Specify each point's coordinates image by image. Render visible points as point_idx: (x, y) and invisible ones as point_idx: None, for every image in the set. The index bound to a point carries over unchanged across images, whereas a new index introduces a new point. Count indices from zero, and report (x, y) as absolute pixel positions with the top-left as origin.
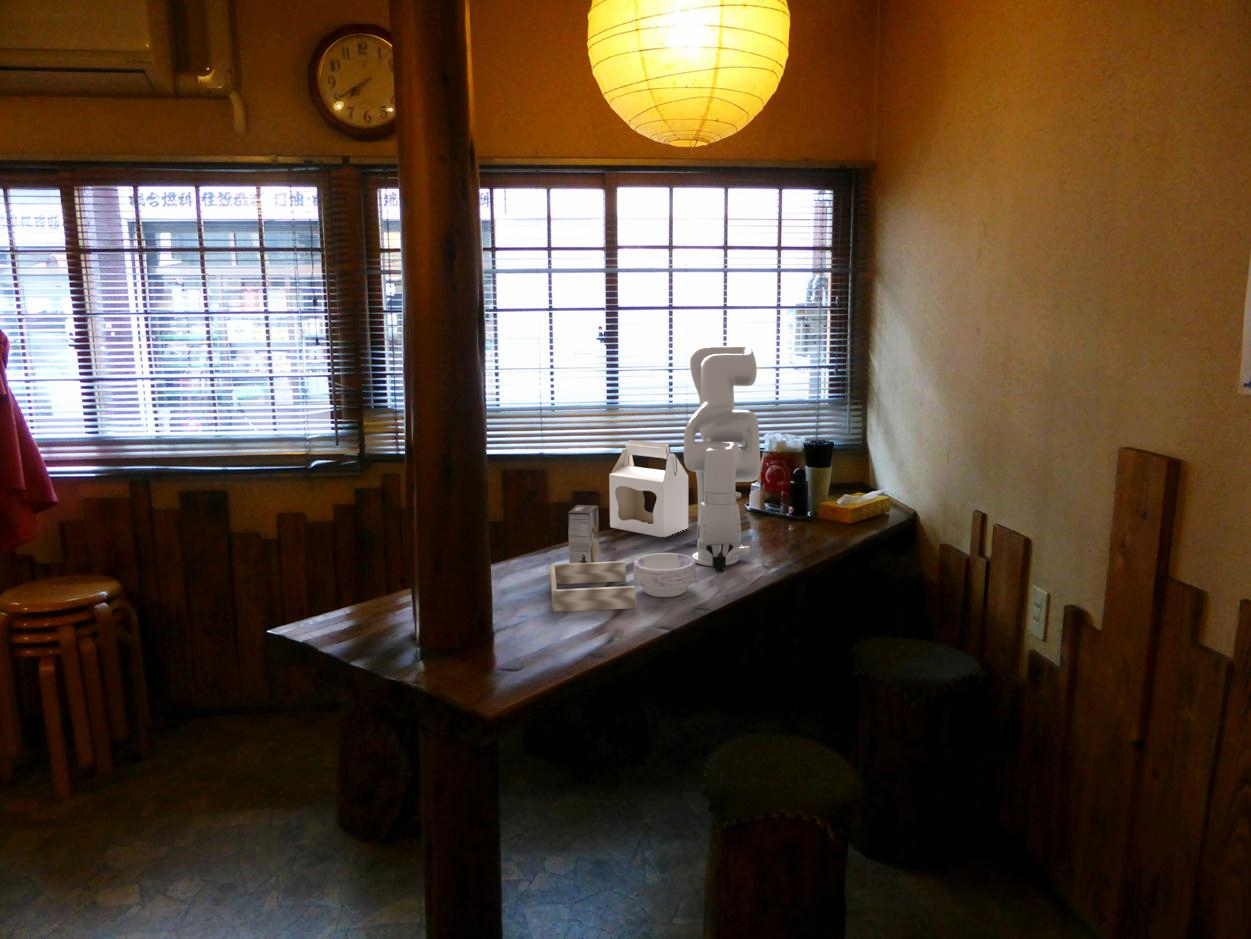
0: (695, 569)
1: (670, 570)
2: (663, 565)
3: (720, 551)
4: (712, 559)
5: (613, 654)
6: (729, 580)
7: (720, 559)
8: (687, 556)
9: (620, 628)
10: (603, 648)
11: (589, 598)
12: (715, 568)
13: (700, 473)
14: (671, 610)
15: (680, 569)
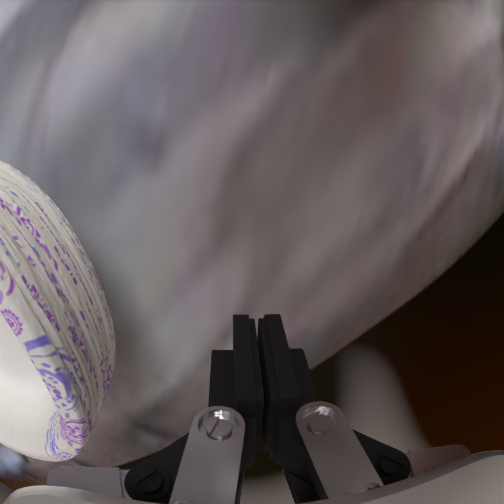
0: (98, 388)
1: (17, 451)
2: None
3: (289, 442)
4: (209, 389)
5: (46, 481)
6: (343, 167)
7: (263, 433)
8: (10, 324)
9: None
10: (29, 468)
11: None
12: (233, 348)
13: None
14: None
15: (45, 460)
